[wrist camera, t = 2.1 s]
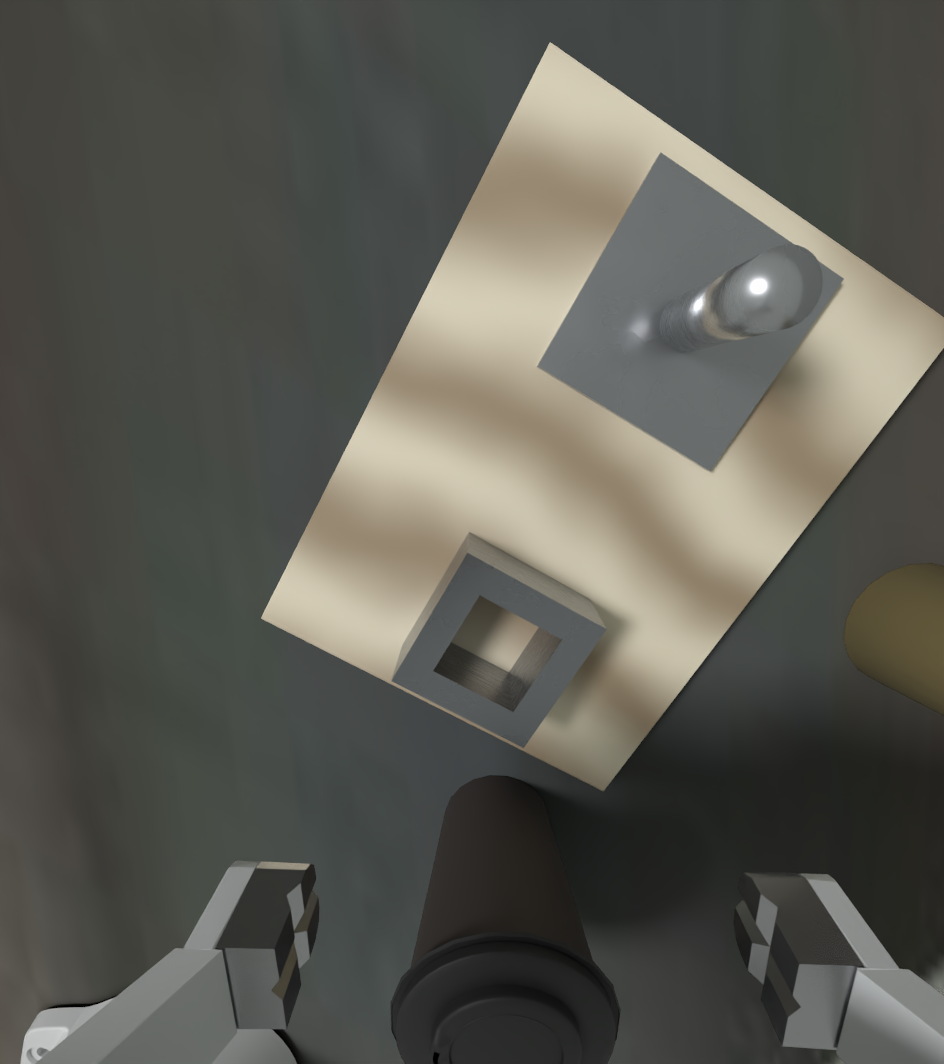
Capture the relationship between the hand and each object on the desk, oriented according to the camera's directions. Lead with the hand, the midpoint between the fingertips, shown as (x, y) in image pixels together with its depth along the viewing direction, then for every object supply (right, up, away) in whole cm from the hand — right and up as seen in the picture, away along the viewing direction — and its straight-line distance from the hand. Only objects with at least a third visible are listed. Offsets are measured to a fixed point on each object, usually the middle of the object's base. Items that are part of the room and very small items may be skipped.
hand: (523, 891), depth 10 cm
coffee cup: (0, -8, +17) cm, 19 cm away
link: (0, +3, +12) cm, 13 cm away
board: (+3, +9, +12) cm, 16 cm away
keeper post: (+7, +15, +9) cm, 19 cm away
